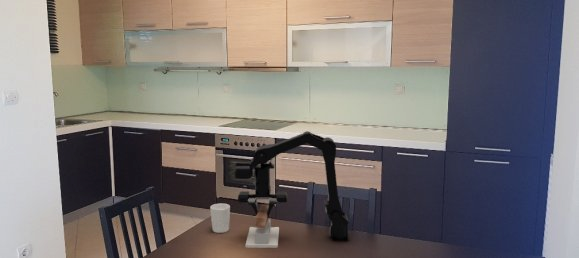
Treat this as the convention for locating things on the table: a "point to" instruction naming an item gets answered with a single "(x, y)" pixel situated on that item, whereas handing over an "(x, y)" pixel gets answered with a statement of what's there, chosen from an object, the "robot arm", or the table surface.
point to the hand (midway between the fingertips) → (263, 218)
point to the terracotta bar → (262, 217)
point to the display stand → (263, 237)
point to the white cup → (220, 217)
